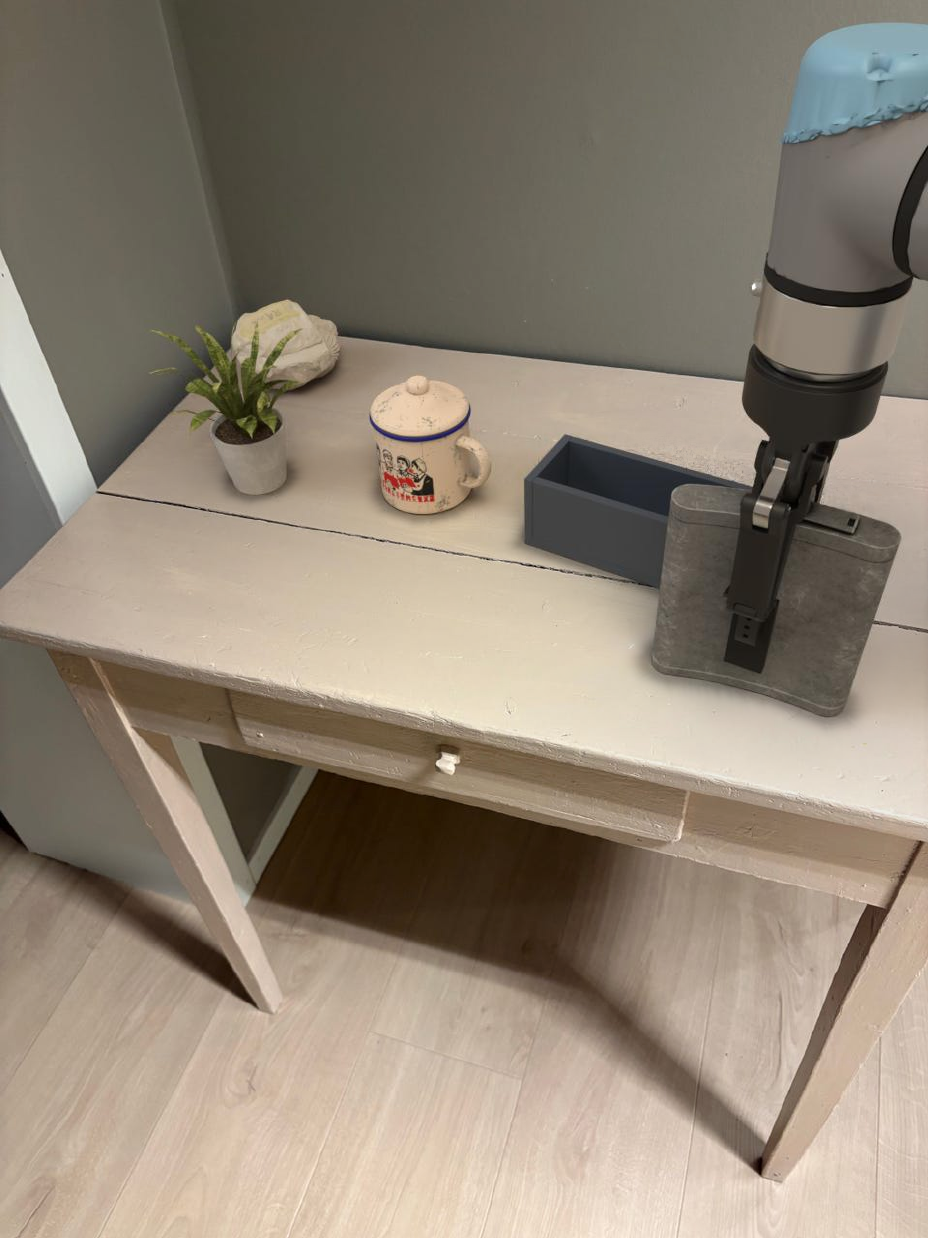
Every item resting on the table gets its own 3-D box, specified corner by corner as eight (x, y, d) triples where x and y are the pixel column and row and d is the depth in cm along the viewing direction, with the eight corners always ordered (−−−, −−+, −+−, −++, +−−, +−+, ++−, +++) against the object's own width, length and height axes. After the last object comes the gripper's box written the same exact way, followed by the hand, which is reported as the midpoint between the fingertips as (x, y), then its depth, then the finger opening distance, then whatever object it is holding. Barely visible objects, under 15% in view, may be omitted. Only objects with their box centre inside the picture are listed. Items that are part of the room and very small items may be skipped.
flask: (659, 637, 76) (684, 445, 63) (848, 685, 71) (914, 488, 59) (646, 669, 74) (669, 476, 61) (841, 721, 69) (908, 523, 56)
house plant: (147, 514, 91) (92, 358, 80) (212, 434, 100) (171, 284, 89) (285, 534, 88) (248, 374, 76) (339, 449, 97) (313, 296, 86)
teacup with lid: (360, 497, 91) (343, 389, 83) (419, 450, 96) (408, 344, 88) (461, 540, 86) (454, 429, 78) (518, 489, 91) (517, 379, 83)
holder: (746, 554, 83) (759, 488, 78) (714, 607, 78) (726, 541, 73) (563, 497, 90) (564, 433, 85) (524, 543, 85) (523, 478, 80)
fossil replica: (362, 361, 110) (288, 355, 114) (349, 289, 105) (273, 285, 109) (307, 407, 102) (230, 399, 106) (291, 331, 97) (211, 325, 100)
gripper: (799, 277, 60) (743, 561, 76) (699, 406, 50) (660, 703, 66) (924, 299, 57) (839, 590, 73) (845, 442, 47) (767, 744, 63)
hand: (754, 643), depth 70 cm, fingers closed on flask, 4 cm apart
